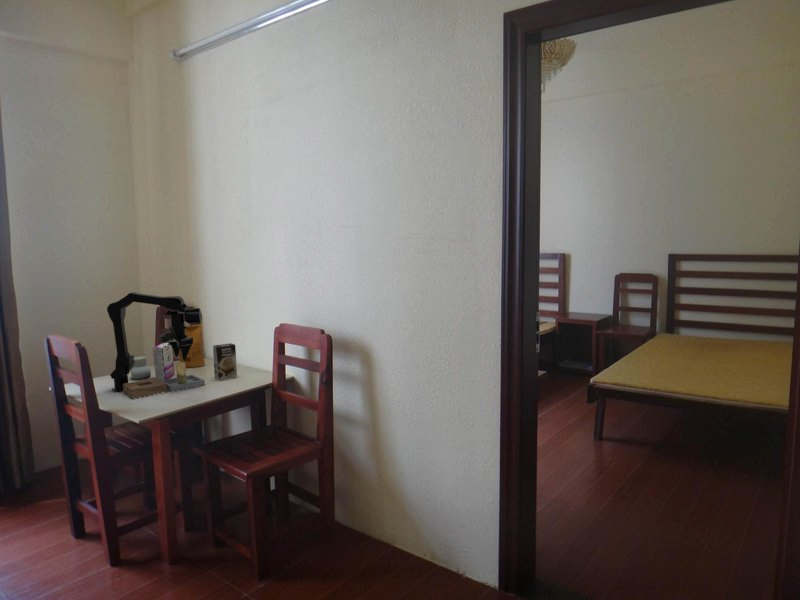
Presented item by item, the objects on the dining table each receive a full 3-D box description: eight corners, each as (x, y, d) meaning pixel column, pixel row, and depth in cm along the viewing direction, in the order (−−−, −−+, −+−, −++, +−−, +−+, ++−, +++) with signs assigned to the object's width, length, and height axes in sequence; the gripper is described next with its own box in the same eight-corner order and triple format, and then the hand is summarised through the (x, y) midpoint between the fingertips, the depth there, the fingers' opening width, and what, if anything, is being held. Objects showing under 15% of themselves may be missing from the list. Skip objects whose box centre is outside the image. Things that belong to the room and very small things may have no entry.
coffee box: (218, 381, 259) (216, 347, 257) (214, 378, 264) (212, 345, 262) (237, 377, 264) (235, 344, 262) (233, 375, 269) (231, 342, 267)
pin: (176, 384, 252) (174, 363, 251) (185, 382, 255) (183, 361, 253) (179, 386, 249) (177, 364, 248) (188, 384, 252) (186, 362, 250)
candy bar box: (164, 375, 272) (162, 342, 270) (174, 375, 272) (172, 342, 270) (154, 381, 261) (152, 347, 259) (165, 381, 261) (162, 347, 259)
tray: (160, 386, 252) (160, 380, 252) (192, 379, 262) (192, 374, 262) (171, 392, 242) (170, 386, 242) (204, 385, 252) (204, 379, 252)
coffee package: (181, 364, 294) (178, 324, 291) (205, 363, 296) (203, 322, 293) (178, 369, 284) (174, 327, 281) (203, 367, 287) (200, 325, 284)
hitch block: (123, 392, 243) (122, 383, 242) (156, 386, 252) (155, 377, 252) (133, 399, 233) (132, 390, 232) (167, 392, 242) (166, 383, 241)
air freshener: (151, 379, 266) (149, 358, 264) (132, 381, 262) (130, 361, 261) (149, 374, 275) (147, 354, 274) (131, 376, 271) (129, 356, 270)
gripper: (152, 324, 250) (155, 358, 252) (166, 329, 236) (169, 364, 238) (177, 321, 258) (179, 354, 260) (192, 325, 244) (195, 360, 246)
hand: (180, 358), depth 251 cm, fingers open, 9 cm apart
